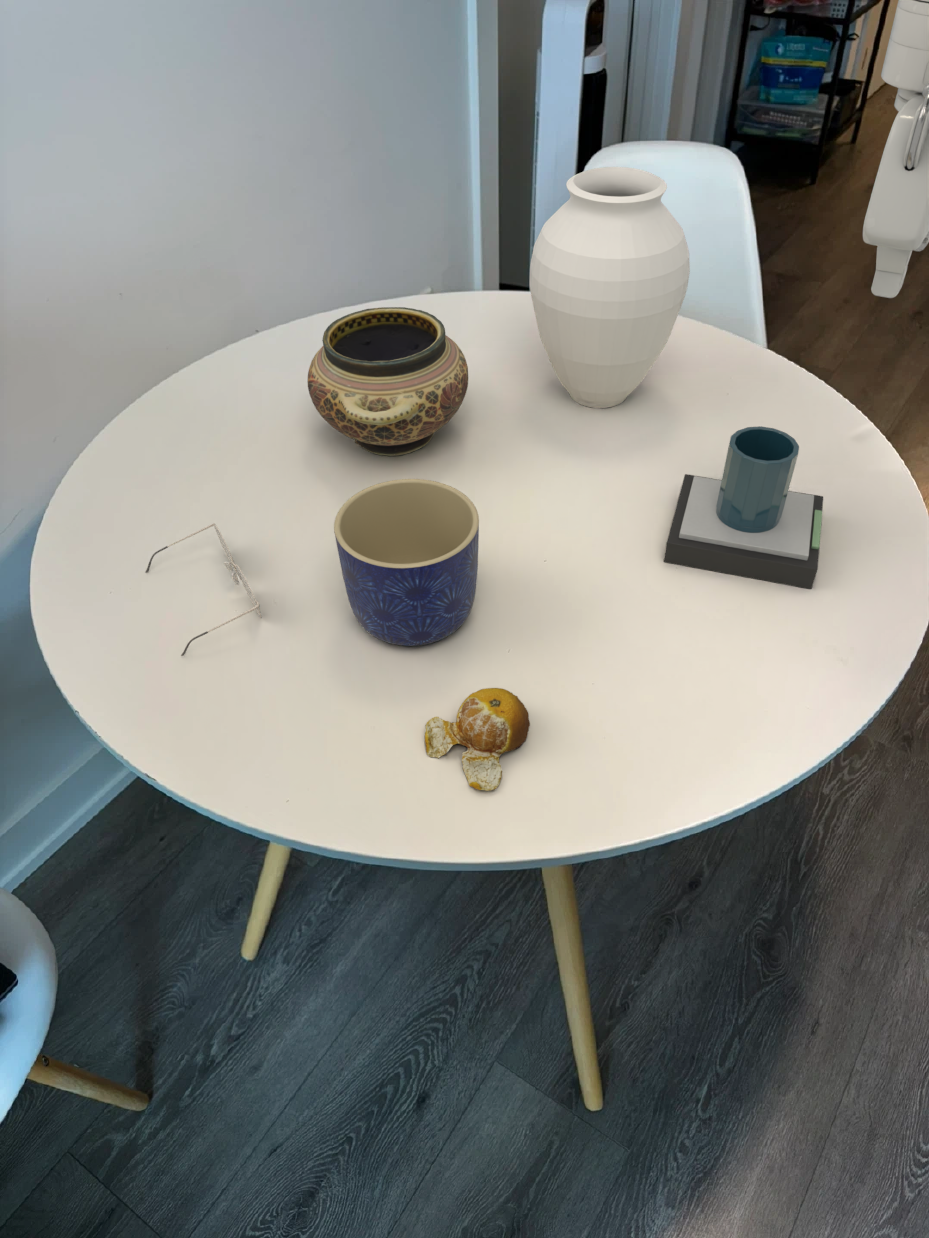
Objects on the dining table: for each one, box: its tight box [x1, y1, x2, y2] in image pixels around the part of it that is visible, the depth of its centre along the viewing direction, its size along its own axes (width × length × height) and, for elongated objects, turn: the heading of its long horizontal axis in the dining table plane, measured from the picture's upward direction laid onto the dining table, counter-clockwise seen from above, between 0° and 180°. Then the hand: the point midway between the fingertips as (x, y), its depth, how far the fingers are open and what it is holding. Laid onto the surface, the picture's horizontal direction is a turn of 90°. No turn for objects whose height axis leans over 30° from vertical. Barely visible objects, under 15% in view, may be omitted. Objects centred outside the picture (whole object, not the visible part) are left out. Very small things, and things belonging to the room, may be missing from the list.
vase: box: [529, 166, 691, 409], centre depth 106 cm, size 18×18×25 cm
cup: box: [716, 426, 800, 533], centre depth 88 cm, size 6×6×8 cm
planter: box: [333, 478, 480, 647], centre depth 82 cm, size 12×12×11 cm
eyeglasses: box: [145, 522, 262, 657], centre depth 87 cm, size 14×8×4 cm, turn 28°
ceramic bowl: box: [307, 306, 469, 457], centre depth 104 cm, size 24×18×15 cm
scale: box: [663, 473, 824, 590], centre depth 92 cm, size 14×12×3 cm
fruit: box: [424, 687, 531, 792], centre depth 74 cm, size 8×8×4 cm
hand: (899, 269), depth 67 cm, fingers open, 8 cm apart
